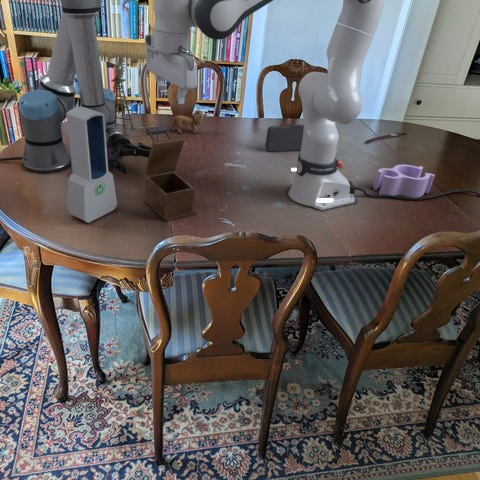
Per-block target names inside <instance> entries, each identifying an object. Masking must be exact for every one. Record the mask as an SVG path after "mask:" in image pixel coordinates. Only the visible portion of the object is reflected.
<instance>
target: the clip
mask: <svg viewBox="0 0 480 480" xmlns="http://www.w3.org/2000/svg"><path fill="white" fill-rule="evenodd" d="M423 169H424V166H422V165H419V166H416V165H411V164H396V165H395V166H394V167H391V168H388V167H387V168H385V167H381V168H379V169H378V170H377V174H376V177H375V181H374V184H373V188H372V189H373V191H378V189H379V192H378V195H393V196H401V197H412V198H416V197H424V194H429V193H430V190H431V188H432V185H433V182H434V179H435V175H436V174H434V173H429V172H424V176H422V177H421V175H422V173H423Z"/></svg>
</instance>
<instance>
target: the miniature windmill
mask: <svg viewBox="0 0 480 480" xmlns="http://www.w3.org/2000/svg"><path fill="white" fill-rule="evenodd" d="M105 65H106V68H107V69H113V68H114V70H115V71H114V73H115V78H113V79H111V80H110V81H111V82H112V83H114V85H113V86H112V88H113V90H112V91H113V92H114V94H115V95H114V99H115V127H116V126H122V127H123V133H124V134H123V135H124V136H126V135H127V131H126V127H127V125H128V124H130V126H131V129H134V125H133V119H132V116H131V112H130V107H129V105H128V101H127V96H126V93H125V90H124V86H123V83H124V82H125V81H127V79H125V78H123V76H124V74H125V70H124V69H126V67H125V65H126V63H125V60H124V56H121V53H119V54H118V56H116V60H115V63H113V62H111V61H107V60H106V64H105ZM121 91H122V92H121ZM118 92H119V95H118ZM122 94H123V95H122ZM118 101H119V102H120V105H118ZM123 101H124V103H125V106H123ZM118 108H120V109H121V110H118ZM126 111H127V114H128V118H126V117H125V115H124V114H125V112H126ZM118 113H121V117H118V116H117V115H118ZM117 119H118V120H122V124H121V123H117ZM125 121H128V122H125Z"/></svg>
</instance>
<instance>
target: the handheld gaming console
mask: <svg viewBox="0 0 480 480" xmlns="http://www.w3.org/2000/svg"><path fill="white" fill-rule="evenodd" d="M303 130H304V125H303V124H292V125H291V124H290V125H289V124H286V125H285V124H284V125H283V124H281V125H270V126H268V127H267V130H266V139H265V145H264V146H265V150H267V151H268V152H289V151H290V152H292V151H294V152H295V151H301V145H302V139H303Z"/></svg>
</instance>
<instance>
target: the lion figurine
mask: <svg viewBox="0 0 480 480" xmlns="http://www.w3.org/2000/svg"><path fill="white" fill-rule="evenodd" d="M203 120H204V111H202V110H200V109H197V110H195V111H194V112H193V113H192V114H190V115H189V116H183V115H176V116H175V117H174V118H173V119H172V123H171V127H170V128H169V129H168V132H171V131H176V130H177V132H178V133H179V134H182V133H183V132H182V130H180V128H181V126H182V125H183V126H186V127H189V126H190V132H192V133H193V134H196V133H197V130H196V127H197V126H200V124H201V123H202V122H203ZM176 126H177V127H176ZM175 127H176V128H175Z"/></svg>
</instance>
